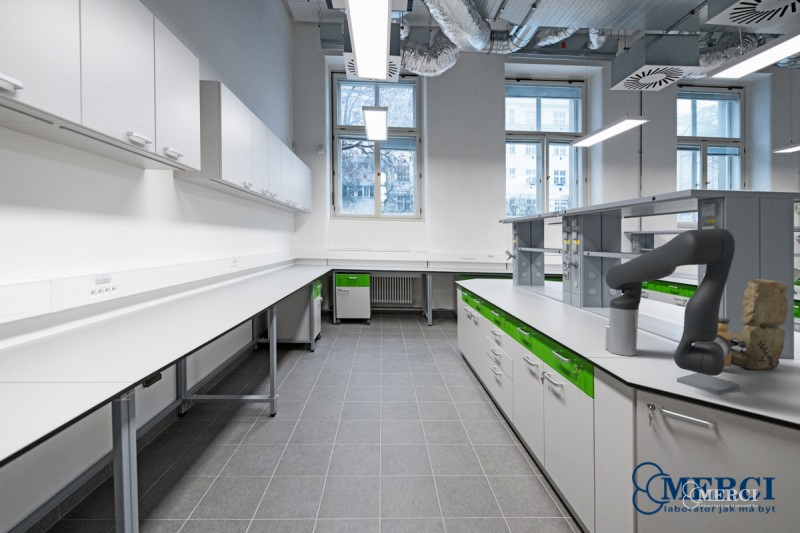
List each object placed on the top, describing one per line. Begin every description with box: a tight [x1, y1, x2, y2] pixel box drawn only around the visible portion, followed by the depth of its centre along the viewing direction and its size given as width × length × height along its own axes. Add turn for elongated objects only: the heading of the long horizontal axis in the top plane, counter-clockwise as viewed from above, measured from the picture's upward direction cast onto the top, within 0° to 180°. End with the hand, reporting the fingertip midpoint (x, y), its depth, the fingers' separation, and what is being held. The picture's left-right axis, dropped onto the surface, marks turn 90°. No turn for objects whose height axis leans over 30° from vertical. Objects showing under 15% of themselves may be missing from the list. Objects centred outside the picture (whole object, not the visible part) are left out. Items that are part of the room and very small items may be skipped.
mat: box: [676, 372, 741, 396], centre depth 104 cm, size 10×12×1 cm
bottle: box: [718, 317, 734, 368], centre depth 116 cm, size 6×6×15 cm
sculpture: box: [731, 278, 789, 371], centre depth 118 cm, size 12×9×30 cm
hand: (722, 338), depth 117 cm, fingers closed on bottle, 5 cm apart
